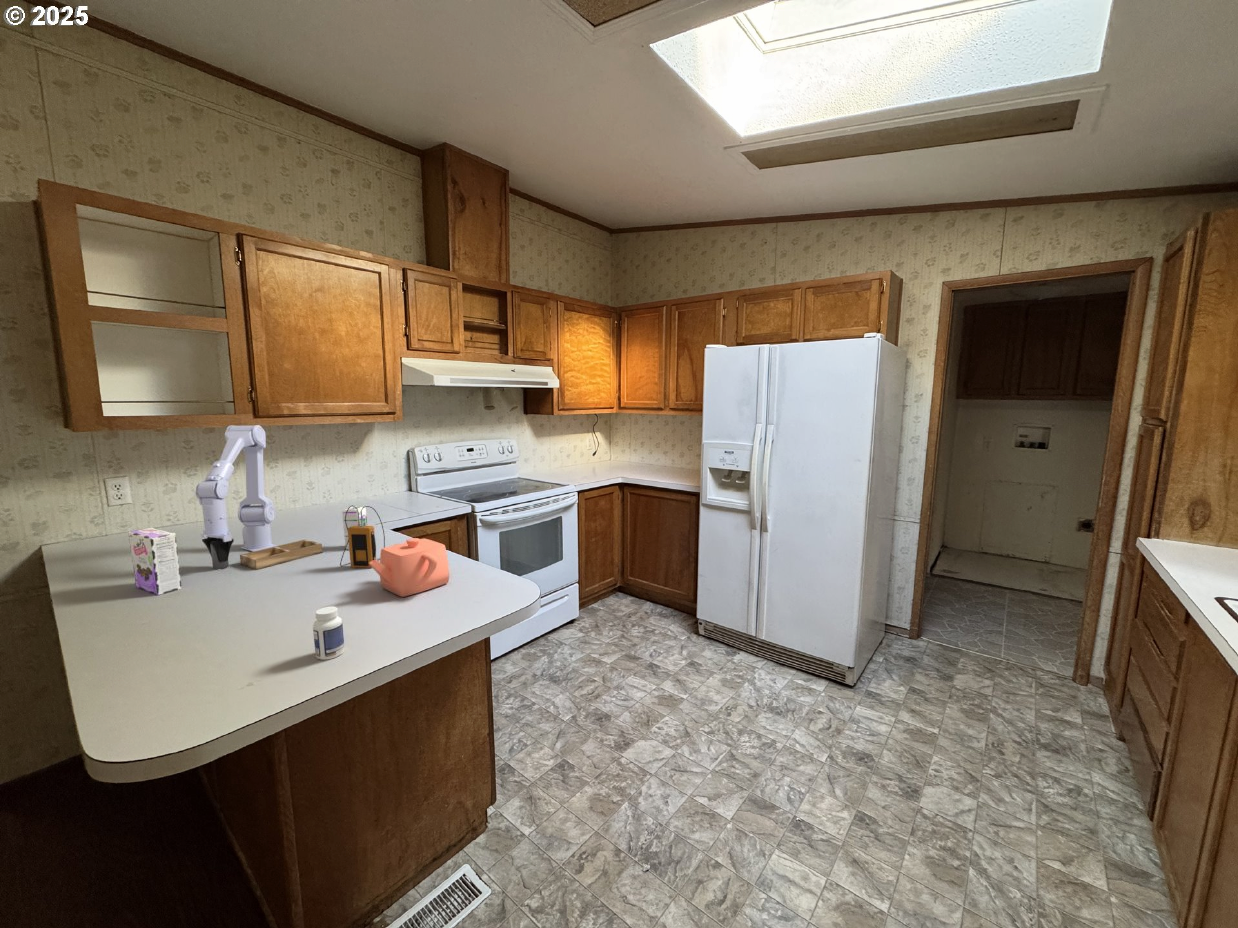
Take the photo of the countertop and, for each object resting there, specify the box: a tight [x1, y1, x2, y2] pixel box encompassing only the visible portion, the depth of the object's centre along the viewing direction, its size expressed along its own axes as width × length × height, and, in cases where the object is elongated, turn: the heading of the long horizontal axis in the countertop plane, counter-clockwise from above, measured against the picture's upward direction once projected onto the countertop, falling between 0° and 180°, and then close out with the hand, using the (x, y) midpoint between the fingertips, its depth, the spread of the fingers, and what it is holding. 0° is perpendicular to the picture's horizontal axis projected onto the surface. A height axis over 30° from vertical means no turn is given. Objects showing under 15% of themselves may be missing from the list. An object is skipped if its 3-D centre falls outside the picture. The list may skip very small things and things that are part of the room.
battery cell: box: [210, 544, 230, 571], centre depth 163 cm, size 4×4×9 cm
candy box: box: [128, 527, 183, 596], centre depth 146 cm, size 14×6×16 cm, turn 62°
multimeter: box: [339, 505, 386, 569], centre depth 166 cm, size 15×10×20 cm
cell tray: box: [239, 539, 323, 570], centre depth 172 cm, size 11×20×3 cm, turn 148°
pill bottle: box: [312, 606, 345, 661], centre depth 108 cm, size 5×5×10 cm
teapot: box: [369, 537, 450, 598], centre depth 144 cm, size 20×22×14 cm
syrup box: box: [341, 505, 368, 551], centre depth 183 cm, size 6×6×14 cm
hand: (220, 560), depth 163 cm, fingers closed on battery cell, 4 cm apart
